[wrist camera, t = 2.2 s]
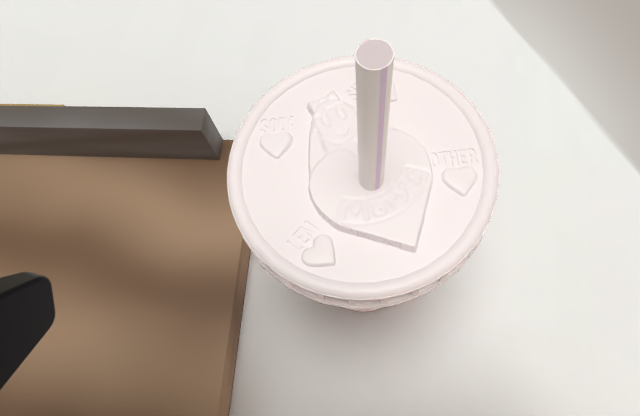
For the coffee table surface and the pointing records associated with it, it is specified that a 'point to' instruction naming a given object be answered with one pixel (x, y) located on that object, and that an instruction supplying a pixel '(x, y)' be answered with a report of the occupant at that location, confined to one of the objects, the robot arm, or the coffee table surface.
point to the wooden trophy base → (123, 259)
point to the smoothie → (363, 179)
